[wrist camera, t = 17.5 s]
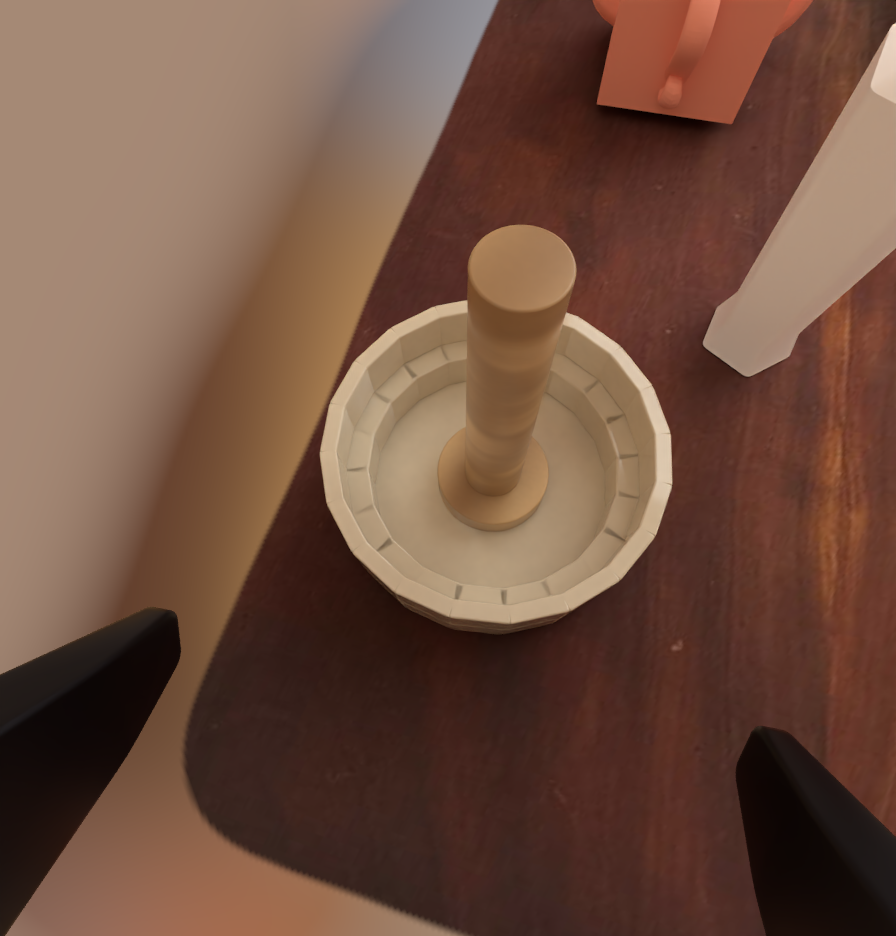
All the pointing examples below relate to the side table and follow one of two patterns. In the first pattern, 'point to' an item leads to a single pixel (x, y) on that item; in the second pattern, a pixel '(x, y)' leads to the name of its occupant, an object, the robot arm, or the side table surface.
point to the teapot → (688, 53)
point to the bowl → (563, 505)
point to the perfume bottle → (820, 230)
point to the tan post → (506, 376)
